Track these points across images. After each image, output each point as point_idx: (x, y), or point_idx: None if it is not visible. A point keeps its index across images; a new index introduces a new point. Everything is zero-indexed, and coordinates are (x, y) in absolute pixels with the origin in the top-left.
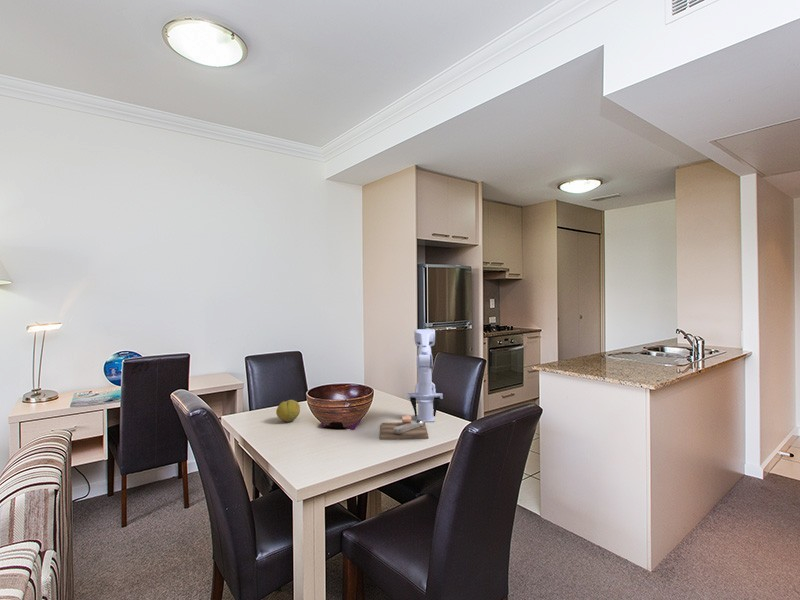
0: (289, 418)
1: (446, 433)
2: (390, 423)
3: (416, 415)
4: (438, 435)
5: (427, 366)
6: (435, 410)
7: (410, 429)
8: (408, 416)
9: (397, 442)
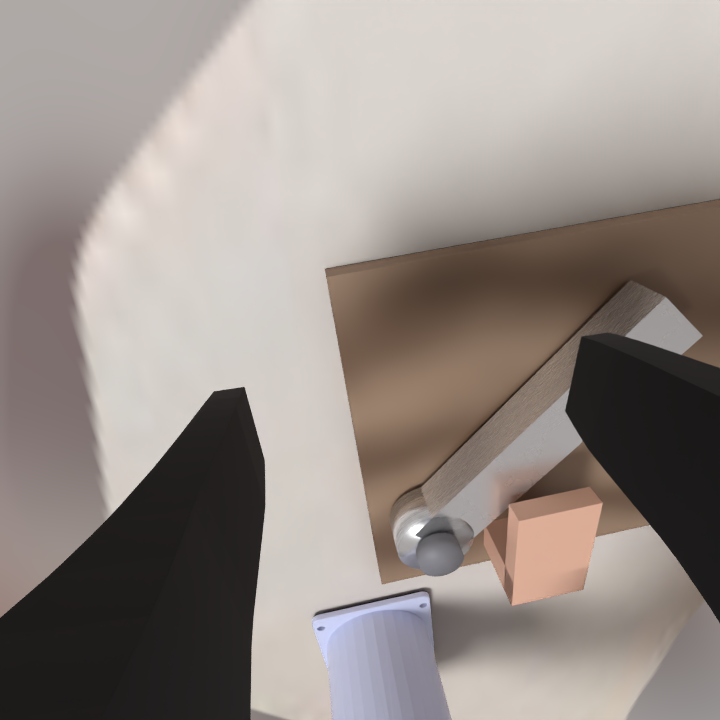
0: None
1: (171, 431)
2: (629, 513)
3: (600, 340)
4: (237, 372)
5: None
6: (165, 469)
7: (504, 408)
8: (535, 576)
9: (647, 112)
